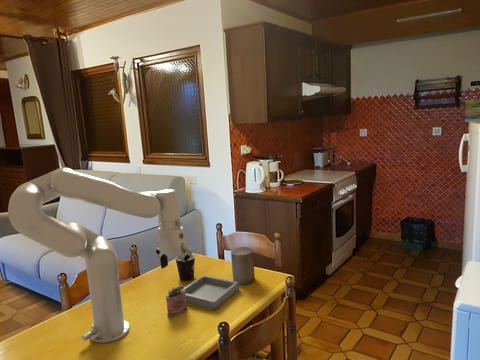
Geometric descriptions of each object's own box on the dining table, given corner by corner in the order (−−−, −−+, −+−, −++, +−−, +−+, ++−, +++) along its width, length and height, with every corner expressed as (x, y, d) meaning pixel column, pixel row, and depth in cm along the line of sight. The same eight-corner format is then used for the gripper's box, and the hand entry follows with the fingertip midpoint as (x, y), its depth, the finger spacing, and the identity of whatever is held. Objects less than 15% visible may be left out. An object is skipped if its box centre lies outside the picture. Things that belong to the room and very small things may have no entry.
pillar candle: (256, 275, 163) (253, 243, 160) (253, 285, 153) (251, 251, 151) (234, 275, 164) (232, 244, 162) (231, 285, 155) (228, 251, 152)
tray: (214, 310, 134) (214, 302, 134) (177, 301, 144) (176, 292, 143) (239, 290, 150) (238, 282, 149) (203, 282, 159) (203, 274, 158)
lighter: (170, 318, 131) (167, 293, 129) (165, 315, 133) (163, 290, 132) (189, 310, 136) (187, 285, 134) (184, 307, 138) (182, 282, 137)
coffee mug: (186, 272, 170) (185, 252, 168) (200, 276, 165) (198, 255, 163) (168, 282, 161) (166, 261, 159) (182, 286, 156) (180, 264, 154)
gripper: (195, 223, 128) (199, 268, 131) (159, 219, 137) (163, 261, 140) (182, 229, 121) (187, 277, 124) (144, 224, 130) (150, 269, 133)
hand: (174, 269), depth 132 cm, fingers open, 9 cm apart
